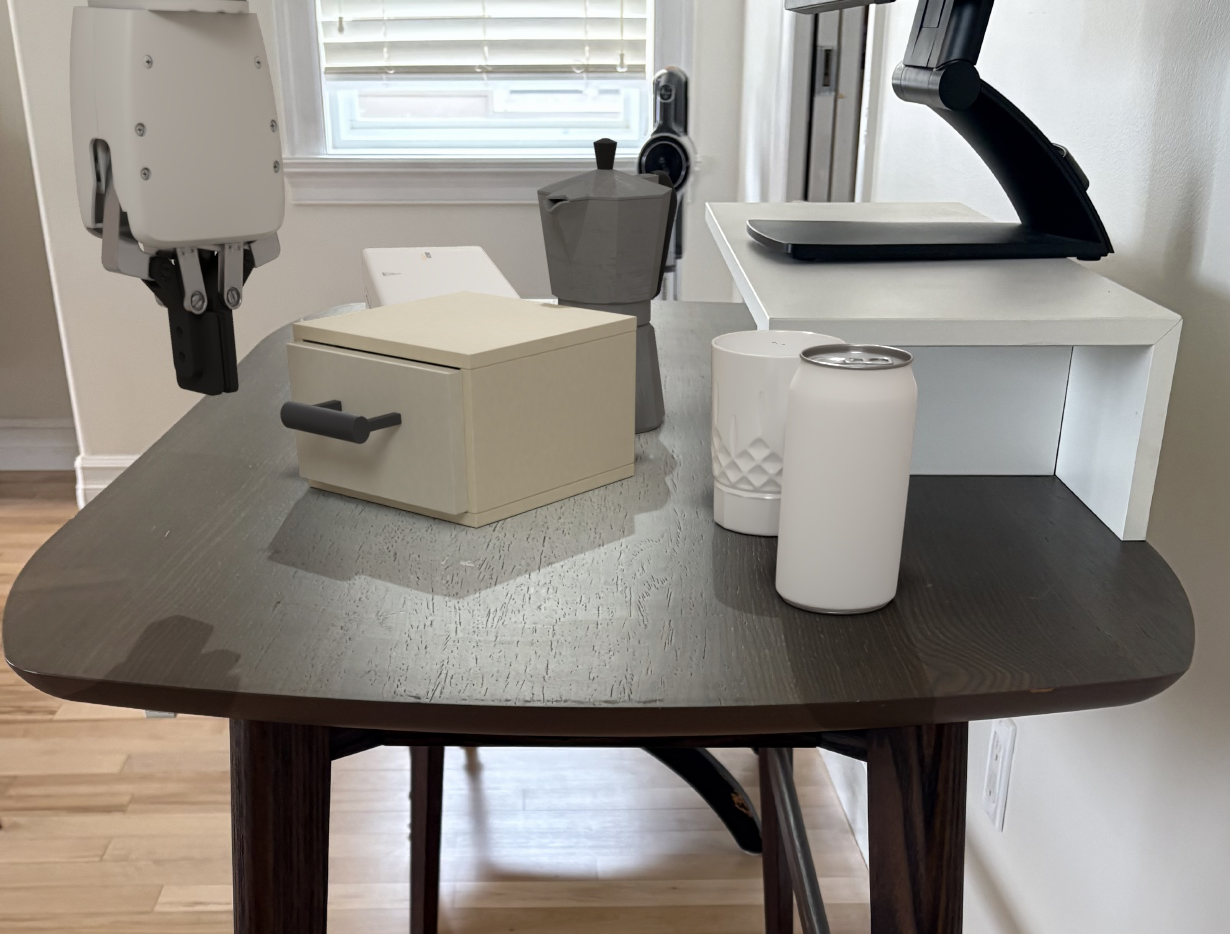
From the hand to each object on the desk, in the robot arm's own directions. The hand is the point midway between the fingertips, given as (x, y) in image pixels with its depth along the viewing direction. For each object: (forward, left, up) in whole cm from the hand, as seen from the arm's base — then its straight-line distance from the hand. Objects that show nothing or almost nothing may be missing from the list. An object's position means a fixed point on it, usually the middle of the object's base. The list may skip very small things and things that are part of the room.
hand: (208, 389), depth 85 cm
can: (+29, -19, -9) cm, 36 cm away
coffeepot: (+33, +23, -9) cm, 41 cm away
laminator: (+28, +49, -9) cm, 57 cm away
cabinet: (+18, +10, -9) cm, 22 cm away
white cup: (+32, -5, -9) cm, 33 cm away
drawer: (+14, +8, -8) cm, 18 cm away
